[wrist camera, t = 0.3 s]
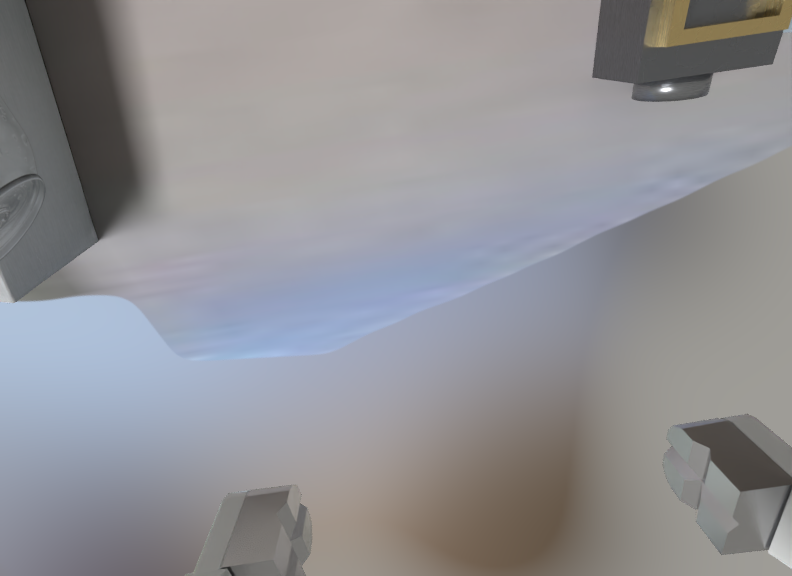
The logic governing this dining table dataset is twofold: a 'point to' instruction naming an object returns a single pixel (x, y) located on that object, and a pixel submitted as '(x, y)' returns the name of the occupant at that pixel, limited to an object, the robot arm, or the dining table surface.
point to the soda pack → (34, 167)
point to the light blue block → (790, 29)
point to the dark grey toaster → (684, 42)
